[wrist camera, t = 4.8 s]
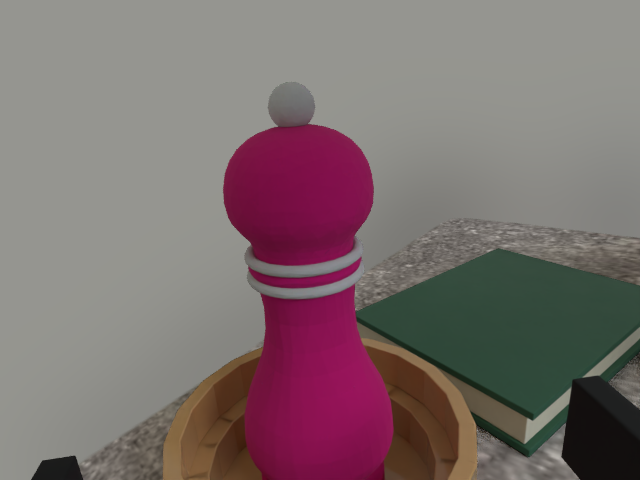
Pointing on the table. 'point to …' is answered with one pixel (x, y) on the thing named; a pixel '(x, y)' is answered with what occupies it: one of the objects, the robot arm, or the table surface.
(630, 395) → the table surface
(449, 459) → the bowl
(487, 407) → the book
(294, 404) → the pepper mill
